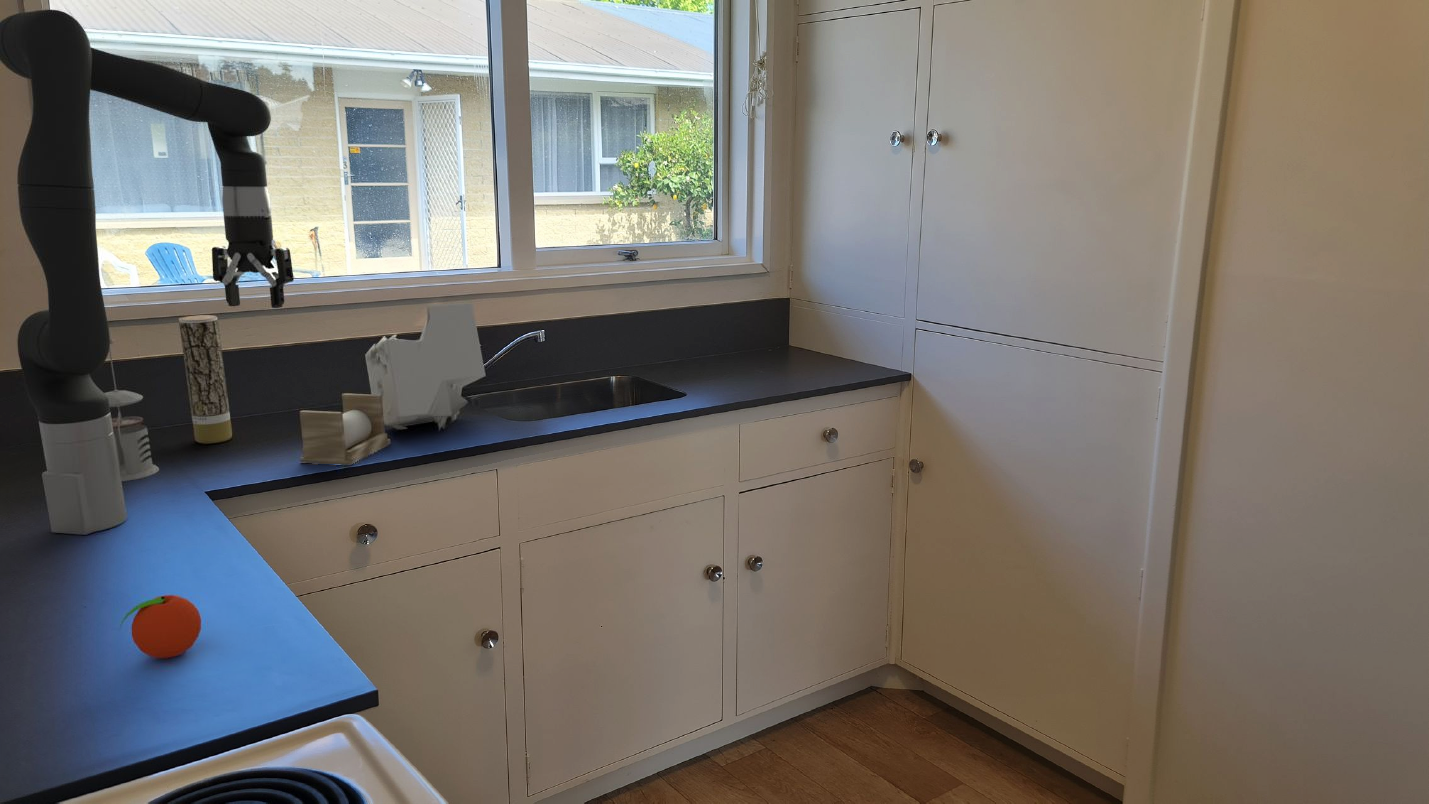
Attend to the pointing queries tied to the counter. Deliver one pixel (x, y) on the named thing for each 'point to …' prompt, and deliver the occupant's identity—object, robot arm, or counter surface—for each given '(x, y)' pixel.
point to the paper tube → (205, 378)
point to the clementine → (165, 626)
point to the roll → (355, 427)
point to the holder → (342, 432)
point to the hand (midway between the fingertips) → (255, 306)
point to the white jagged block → (427, 368)
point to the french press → (130, 436)
